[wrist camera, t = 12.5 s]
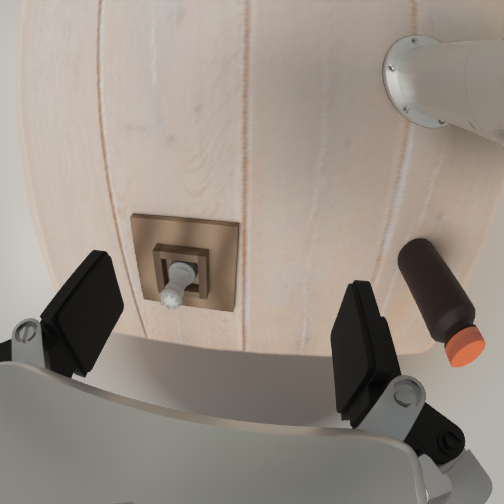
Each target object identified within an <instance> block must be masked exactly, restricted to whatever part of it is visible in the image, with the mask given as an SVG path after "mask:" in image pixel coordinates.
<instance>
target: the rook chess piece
mask: <svg viewBox="0 0 504 504" xmlns="http://www.w3.org/2000/svg"><path fill="white" fill-rule="evenodd" d="M197 274H198V269H197V267H196V265H195V264H194V263H193V262H186V261H178V260H173V261H172V262H171V264H170V267H169V278H170V279H169V283H168V284H167V285H166V286H165V289H164V290H163V291H161V293H160V298H161V301H162V302H161V304H162V305H164V304H165V305H166V307H165V308H167V309H169V307H172V308H171V309H172V310H174V309H175V308H176V307H178V306H180V305H181V304H182V302H183V298H182V297H183V295H184V289H185V288H186V286H188V285H189V284H191V283H192V282H193V281H194V280H195V278H196V276H197Z"/></svg>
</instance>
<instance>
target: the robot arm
mask: <svg viewBox="0 0 504 504" xmlns="http://www.w3.org/2000/svg"><path fill="white" fill-rule="evenodd" d="M412 41H413V42H412ZM388 67H390V68H391V70H389V68H388ZM383 79H384V84H385V88H386V91H387V94H388V96H389V98H390V100H391V102H392V103H393V105H394V106H395V107H396V109H397V110H398V111H399V112H400V113H401V114H402V115H403V116H404V117H405V118H407V119H408V120H410V121H411V122H413V123H415V124H417V125H420V126H423V127H426V128H440V127H443V126H446V125H448V124H452V125H454V126H457V127H460V128H462V129H465V130H467V131H470V132H472V133H475V134H477V135H479V136H482V137H484V138H486V139H489V140H491V141H493V142H495V143H498V144H500V145H502V146H504V39H485V40H467V41H456V42H447V43H441V42H439V41H437V40H435V39H433V38H430V37H427V36H422V35H414V36H408V37H405V38H402V39H401V40H399V41H397V42H396V43H395V44H394V45H393V46H392V47H391V48H390V50H389V51H388V52H387V55H386V58H385V60H384V66H383ZM404 107H405V110H403V108H404ZM123 309H124V303H123V300H122V296H121V293H120V289H119V286H118V282H117V279H116V275H115V271H114V267H113V263H112V259H111V257H110V256H109V255H108V253H107V252H105V251H99V250H93V251H92V252H91V253H90V254H89V255H88V256H87V257H86V259H85V260H84V261H83V262H82V263H81V264H80V266H79V267H78V268H77V269H76V270H75V272H74V273H73V274H72V275H71V277H70V278H69V279H68V280H67V281H66V283H65V284H64V285H63V286H62V288H61V289H60V290H59V292H58V293H57V294H56V295H55V297H54V298H53V299H52V301H51V302H50V303H49V305H48V306H47V307H46V309H45V310H44V311H43V313H42V314H41V316H40V317H41V319H42V320H41V322H40V323H39V322H38V320H36V319H32V318H30V319H25V320H23V321H21V322H20V323H19V324H17V325H16V327H15V328H14V330H13V333H12V339H10V340H8V341H5V342H3V343H0V504H484V503H485V502H486V501H487V500H488V498H489V496H490V495H491V492H492V482H491V480H490V478H489V476H488V475H487V473H486V472H485V470H484V469H483V468H482V466H481V465H480V463H479V462H478V461H477V459H476V458H475V456H474V455H473V454H472V452H471V451H470V450H467V451H466V450H465V448H464V446H465V437H464V434H463V432H462V430H461V429H460V428H459V427H458V426H457V425H455V424H454V423H453V422H451V421H450V420H448V419H447V418H446V417H445V416H443V415H442V414H440V413H439V412H438V411H436V410H435V409H434V408H432V407H431V406H430V405H428V404H427V403H426V402H425V400H426V392H425V389H424V387H423V385H422V384H421V382H419V381H418V380H417V379H416V378H413V377H411V376H407V375H401V371H400V367H399V363H398V359H397V355H396V352H395V348H394V344H393V341H392V337H391V334H390V330H389V327H388V323H387V321H386V318H384V317H381V316H380V313H379V309H378V306H377V303H376V300H375V296H374V293H373V290H372V287H371V284H370V282H369V281H359V280H354V282H353V284H348V287H347V290H346V292H345V295H344V298H343V301H342V304H341V307H340V310H339V312H338V315H337V318H336V321H335V323H334V326H333V329H332V331H331V348H332V358H333V369H334V380H335V394H336V409H337V412H338V413H341V419H342V420H350V425H351V426H352V427H353V428H352V429H348V428H324V427H321V428H320V427H299V426H285V425H271V424H260V423H251V422H243V421H235V420H228V419H221V418H215V417H209V416H203V415H198V414H193V413H188V412H183V411H178V410H173V409H169V408H165V407H161V406H156V405H152V404H149V403H145V402H141V401H138V400H134V399H130V398H127V397H123V396H120V395H117V394H114V393H111V392H108V391H104V390H101V389H98V388H96V387H93V386H90V385H87V384H84V383H82V382H79V381H76V380H73V379H72V375H73V373H75V374H76V375H79V376H82V377H84V378H85V377H86V375H87V373H88V372H90V371H91V370H92V368H93V366H94V364H95V362H96V360H97V358H98V356H99V355H100V353H101V350H102V349H103V347H104V345H105V343H106V341H107V339H108V337H109V336H110V334H111V332H112V330H113V328H114V326H115V324H116V323H117V321H118V319H119V317H120V315H121V314H122V312H123ZM426 489H427V492H428V494H429V500H428V502H427V497H426Z"/></svg>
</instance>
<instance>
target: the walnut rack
mask: <svg viewBox="0 0 504 504" xmlns="http://www.w3.org/2000/svg"><path fill="white" fill-rule="evenodd" d="M130 221H131V228H132V235H133V242H134V248H135V254H136V260H137V266H138V271H139V277H140V282H141V287H142V292H143V297H144V299H146V300H152V301H159V302H162V301H161V298H160V293H161V291H163V290H164V289H165V286H166V285H167V284H168V283H169V279H170V278H169V267H170V264H171V262H172V261H173V260H178V261H186V262H193V263H194V264H195V265H196V267H197V269H198V274H197V276H196V278H195V280H194V281H193V282H192V283H191V284H189V285H188V286H186V288H185V289H184V295H183V297H182V298H183V302H182V304H181V305H184V306H191V307H198V308H206V309H213V310H221V311H229V312H233V311H234V302H235V284H236V266H237V250H238V233H239V223H232V222H222V221H212V220H201V219H191V218H179V217H168V216H156V215H143V214H133V215H132V216H131V217H130Z"/></svg>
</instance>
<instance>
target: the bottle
mask: <svg viewBox="0 0 504 504" xmlns="http://www.w3.org/2000/svg"><path fill="white" fill-rule="evenodd" d="M398 266H399V269H400V271H401V273H402V275H403V277H404V279H405V281H406V283H407V285H408V287H409V289H410V291H411V293H412V295H413V297H414V299H415V301H416V303H417V306H418V308H419V310H420V312H421V314H422V316H423V319H424V321H425V323H426V325H427V328H428V330H429V332H430V335H431V337H432V338H433V339H434V340H435V341H438V342H441V343H445V345H444V347H445V352H446V354H447V356H448V359H449V361H450V364H451V366H453V367H461V366H464V365H467V364H468V363H470V362H472V361H473V360H474V359H476V358H477V357H478V356H479V355H480V354H481V352H482V351H483V349H484V347H485V341H484V339H483V337H482V335H481V333H480V332H479V330H478V328H477V327H476V325H474V324H473V322H474V318H475V308H474V306H473V304H472V303H471V301H470V300H469V298H468V296H467V295H466V293H465V291H464V290H463V288H462V287H461V285H460V284H459V282H458V281H457V279H456V278H455V276H454V275H453V273H452V272H451V270H450V269H449V267H448V266H447V264H446V263H445V262H444V260H443V259H442V257H441V256H440V255H439V253H438V252H437V251H436V249H435V248H434V246H433V245H432V244H431V243H430V242H429V241H427V240H423V239H418V240H414V241H412V242H410V243H408V244H407V245H406V246H405V247H404V248H403V249H402V251H401V252H400V254H399V257H398Z"/></svg>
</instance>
